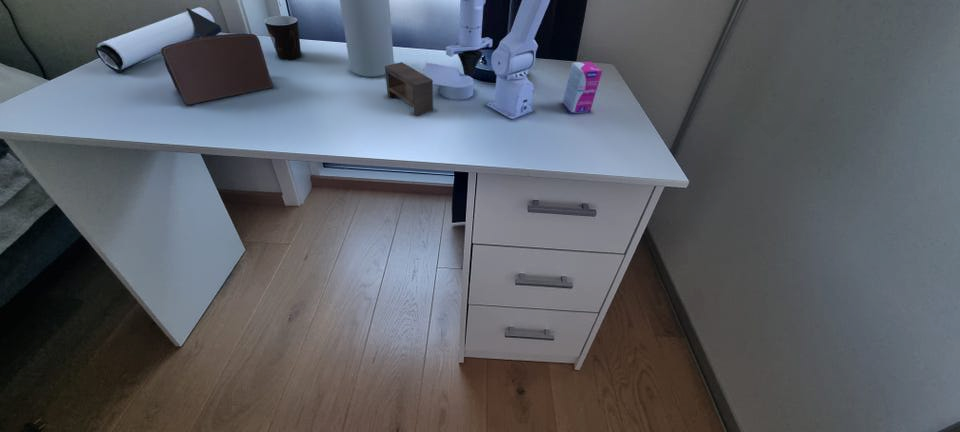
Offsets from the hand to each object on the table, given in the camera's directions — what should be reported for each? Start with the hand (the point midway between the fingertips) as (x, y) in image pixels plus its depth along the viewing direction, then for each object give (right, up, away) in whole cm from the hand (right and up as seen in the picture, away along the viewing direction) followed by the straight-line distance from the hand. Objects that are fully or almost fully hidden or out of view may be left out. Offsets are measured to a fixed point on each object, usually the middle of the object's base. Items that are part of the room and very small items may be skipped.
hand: (468, 77), depth 110 cm
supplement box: (+29, -10, -4) cm, 31 cm away
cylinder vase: (-28, +4, +6) cm, 29 cm away
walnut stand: (-15, -10, -9) cm, 20 cm away
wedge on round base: (-5, -5, -2) cm, 7 cm away
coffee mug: (-53, +8, +8) cm, 55 cm away
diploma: (-84, +8, +5) cm, 85 cm away
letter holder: (-61, -7, -10) cm, 62 cm away
